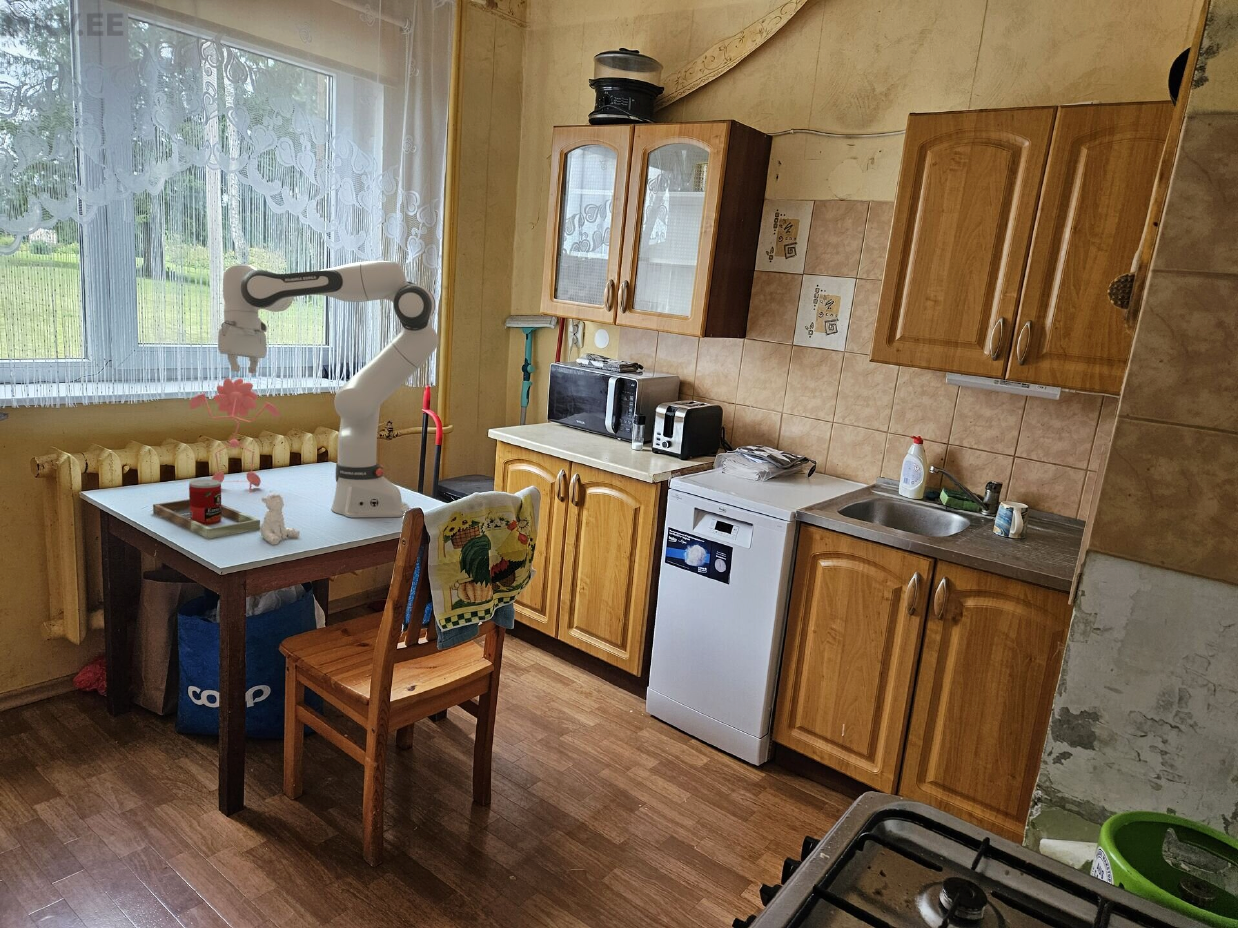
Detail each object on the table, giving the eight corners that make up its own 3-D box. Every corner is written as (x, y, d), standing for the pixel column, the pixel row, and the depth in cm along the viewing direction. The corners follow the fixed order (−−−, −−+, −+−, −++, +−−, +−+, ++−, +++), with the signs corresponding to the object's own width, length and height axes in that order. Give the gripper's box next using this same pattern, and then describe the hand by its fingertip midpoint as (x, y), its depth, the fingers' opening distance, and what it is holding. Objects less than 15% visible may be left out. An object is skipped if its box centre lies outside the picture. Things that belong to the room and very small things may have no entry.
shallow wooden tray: (153, 513, 226) (152, 504, 226) (203, 505, 238) (203, 497, 237) (208, 538, 209) (208, 529, 209) (260, 529, 221) (260, 520, 220)
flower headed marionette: (279, 492, 257) (278, 382, 251) (188, 492, 249) (185, 378, 243) (282, 482, 271) (282, 377, 265) (196, 482, 263) (194, 373, 257)
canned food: (209, 526, 219) (208, 486, 217) (183, 522, 221) (182, 483, 218) (228, 519, 226) (227, 481, 224) (202, 515, 228) (201, 477, 226)
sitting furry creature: (273, 546, 208) (273, 500, 206) (248, 539, 211) (247, 495, 209) (301, 537, 217) (301, 493, 214) (276, 531, 220) (276, 488, 217)
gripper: (233, 318, 219) (235, 370, 220) (269, 326, 240) (272, 373, 241) (210, 319, 220) (213, 370, 221) (249, 327, 240) (251, 374, 241)
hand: (244, 372), depth 231 cm, fingers open, 8 cm apart
